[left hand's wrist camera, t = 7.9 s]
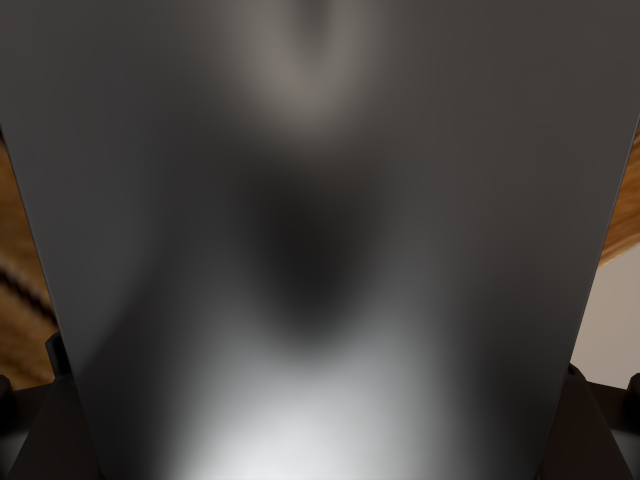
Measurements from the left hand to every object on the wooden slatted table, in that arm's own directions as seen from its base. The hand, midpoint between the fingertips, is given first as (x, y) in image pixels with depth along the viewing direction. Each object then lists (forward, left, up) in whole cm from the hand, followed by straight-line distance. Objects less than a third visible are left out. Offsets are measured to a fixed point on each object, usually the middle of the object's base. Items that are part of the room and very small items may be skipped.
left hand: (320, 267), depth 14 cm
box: (-5, +5, -3) cm, 8 cm away
